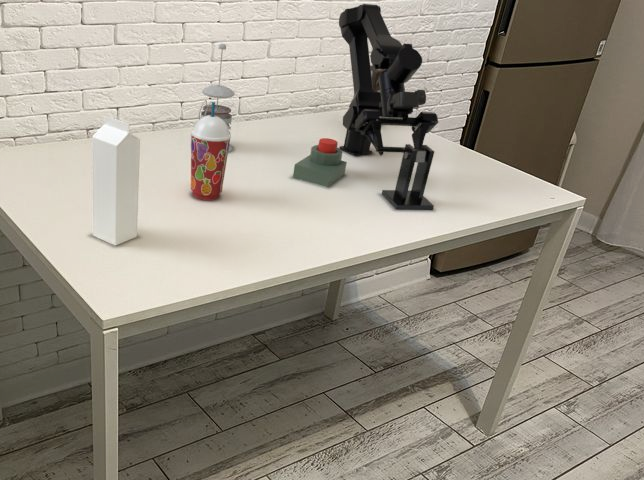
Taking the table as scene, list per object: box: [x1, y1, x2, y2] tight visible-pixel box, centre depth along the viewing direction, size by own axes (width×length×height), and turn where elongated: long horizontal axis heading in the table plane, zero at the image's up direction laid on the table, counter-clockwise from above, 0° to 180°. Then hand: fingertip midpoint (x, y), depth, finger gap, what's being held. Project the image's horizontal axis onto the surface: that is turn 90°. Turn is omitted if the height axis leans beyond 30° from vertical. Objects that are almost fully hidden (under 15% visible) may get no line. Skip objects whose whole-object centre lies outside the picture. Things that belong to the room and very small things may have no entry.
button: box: [317, 137, 339, 154], centre depth 176 cm, size 4×4×2 cm
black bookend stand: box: [381, 143, 435, 211], centre depth 165 cm, size 9×9×13 cm
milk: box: [91, 115, 141, 246], centre depth 133 cm, size 6×6×22 cm
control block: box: [292, 144, 347, 188], centre depth 176 cm, size 12×9×6 cm
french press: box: [198, 43, 236, 153], centre depth 181 cm, size 10×12×25 cm
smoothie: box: [190, 101, 232, 201], centre depth 155 cm, size 8×8×20 cm
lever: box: [375, 146, 426, 163], centre depth 166 cm, size 10×13×2 cm
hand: (400, 155), depth 171 cm, fingers open, 9 cm apart
